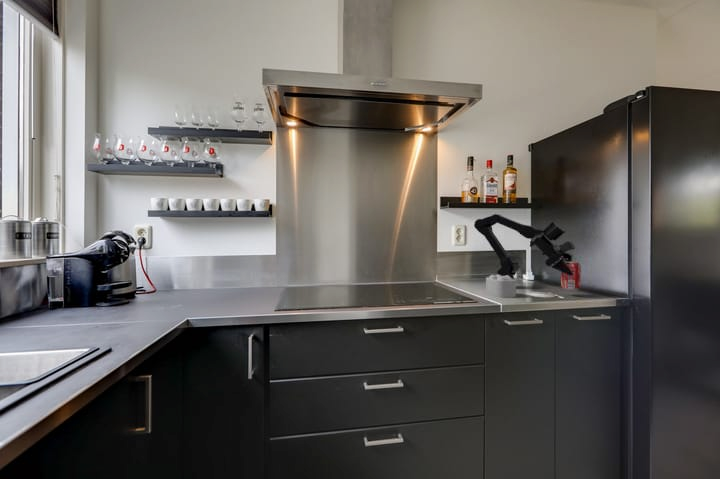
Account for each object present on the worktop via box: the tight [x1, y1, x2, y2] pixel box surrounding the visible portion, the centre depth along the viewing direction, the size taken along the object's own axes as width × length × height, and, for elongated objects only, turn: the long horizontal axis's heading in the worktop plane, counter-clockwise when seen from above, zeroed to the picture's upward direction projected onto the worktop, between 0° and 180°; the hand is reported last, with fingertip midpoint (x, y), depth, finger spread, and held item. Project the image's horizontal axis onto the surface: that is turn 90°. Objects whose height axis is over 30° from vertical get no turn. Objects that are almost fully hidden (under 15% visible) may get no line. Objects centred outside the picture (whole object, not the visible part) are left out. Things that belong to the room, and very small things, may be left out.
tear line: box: [547, 292, 565, 299], centre depth 137 cm, size 12×1×1 cm, turn 175°
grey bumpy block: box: [485, 274, 517, 299], centre depth 138 cm, size 10×13×9 cm
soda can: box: [560, 260, 582, 291], centre depth 136 cm, size 7×7×12 cm
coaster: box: [525, 291, 556, 299], centre depth 138 cm, size 11×11×1 cm
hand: (574, 274), depth 135 cm, fingers closed on soda can, 7 cm apart
